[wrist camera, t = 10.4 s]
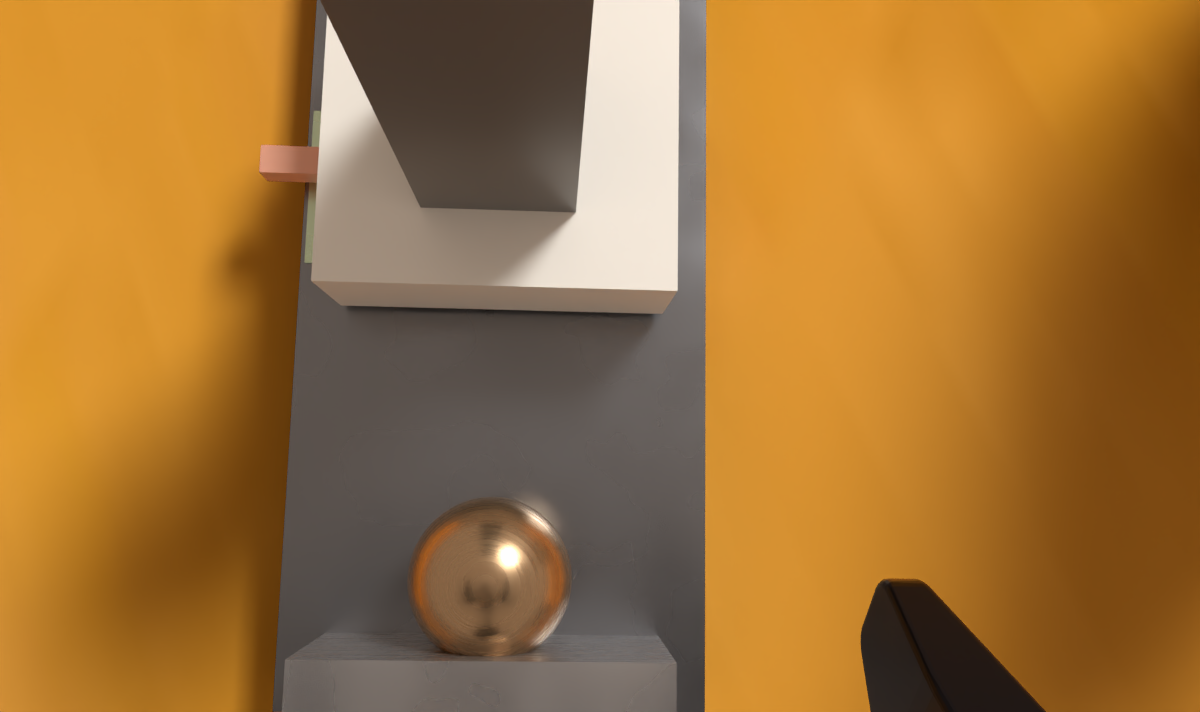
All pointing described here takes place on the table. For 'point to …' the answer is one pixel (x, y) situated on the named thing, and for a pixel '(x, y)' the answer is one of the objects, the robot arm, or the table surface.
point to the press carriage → (495, 155)
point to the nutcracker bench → (500, 489)
